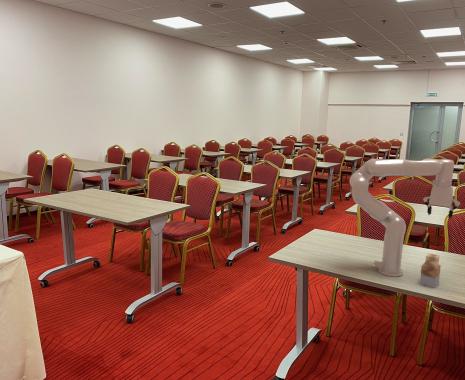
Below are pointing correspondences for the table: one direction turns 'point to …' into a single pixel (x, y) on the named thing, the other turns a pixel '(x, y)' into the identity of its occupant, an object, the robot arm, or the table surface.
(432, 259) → the oak cube
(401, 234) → the robot arm
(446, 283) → the table surface
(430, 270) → the top block
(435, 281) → the base block
